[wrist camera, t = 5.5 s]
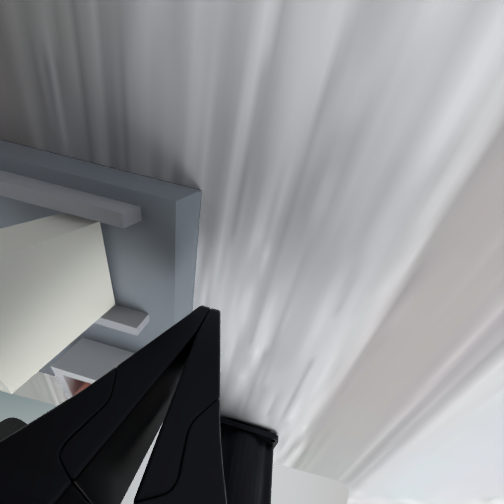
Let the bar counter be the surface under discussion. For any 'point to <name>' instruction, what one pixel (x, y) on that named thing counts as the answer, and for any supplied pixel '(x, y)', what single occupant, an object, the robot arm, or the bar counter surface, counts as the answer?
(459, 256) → the bar counter surface
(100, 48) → the bar counter surface
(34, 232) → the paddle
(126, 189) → the switch panel
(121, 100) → the bar counter surface
